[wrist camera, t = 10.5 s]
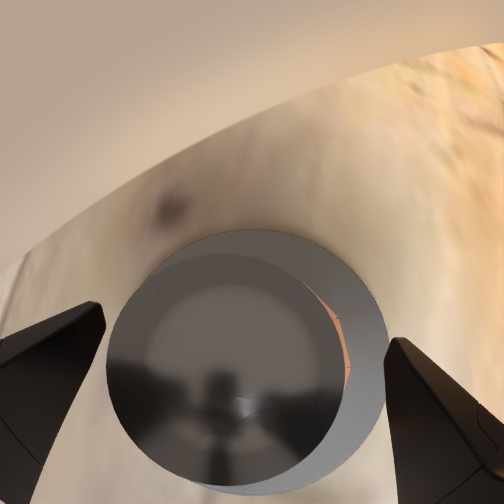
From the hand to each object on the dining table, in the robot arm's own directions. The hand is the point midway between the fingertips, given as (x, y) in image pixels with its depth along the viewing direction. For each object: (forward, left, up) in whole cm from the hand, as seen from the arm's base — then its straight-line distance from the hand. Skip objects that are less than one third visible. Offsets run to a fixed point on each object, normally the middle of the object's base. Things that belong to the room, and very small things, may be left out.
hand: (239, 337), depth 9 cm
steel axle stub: (-1, -1, -8) cm, 8 cm away
